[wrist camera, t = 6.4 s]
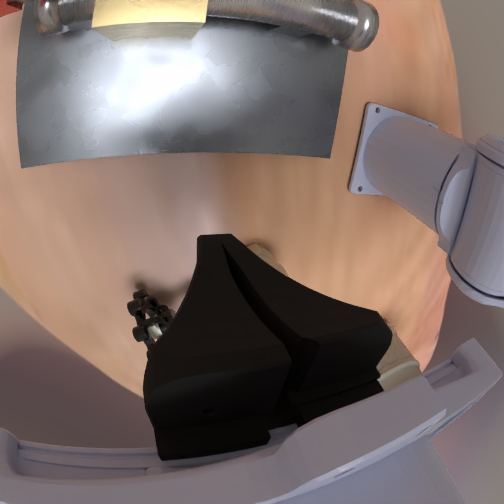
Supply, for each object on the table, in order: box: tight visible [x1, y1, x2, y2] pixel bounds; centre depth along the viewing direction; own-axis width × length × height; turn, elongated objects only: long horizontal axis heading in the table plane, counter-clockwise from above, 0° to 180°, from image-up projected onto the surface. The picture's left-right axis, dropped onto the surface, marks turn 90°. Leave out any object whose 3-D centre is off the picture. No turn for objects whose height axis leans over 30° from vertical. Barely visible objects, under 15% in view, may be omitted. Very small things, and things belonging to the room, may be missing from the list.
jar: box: [376, 321, 422, 391], centre depth 33 cm, size 13×13×18 cm
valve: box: [127, 243, 288, 358], centre depth 22 cm, size 7×7×12 cm
